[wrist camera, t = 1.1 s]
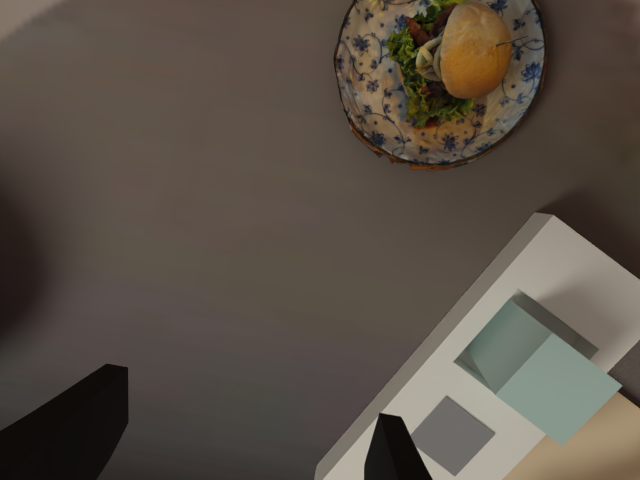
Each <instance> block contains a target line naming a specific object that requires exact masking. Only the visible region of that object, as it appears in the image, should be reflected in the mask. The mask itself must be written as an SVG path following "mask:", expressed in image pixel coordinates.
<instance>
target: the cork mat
mask: <svg viewBox="0 0 640 480" xmlns="http://www.w3.org/2000/svg"><path fill="white" fill-rule="evenodd" d="M502 480H640V408H639V407H637V406H636V405H635V404H633V403H632V402H631V401H629V400H628V399H627V398H625V397H624V396H623V395H621V394H620V393H619V392H618V391H617V392H616V393H615V394H614V395H613V396H612V397H611V398H610V399H609V400H608V401H607V402H606V403H605V404H604V405H603V406H602V407H601V408H600V409H599V410H598V411H597V412H596V413H595V414H594V415H593V416H592V417H591V418H590V419H589V420H588V421H587V422H586V423H585V424H584V425H583V426H582V427H581V428H580V429H579V430H578V431H577V432H576V433H575V434H574V435H573V436H572V437H571V438H570V439H569V440H568V441H567V442H566V443H565V444H564V445H563V446H561V445H560V444H558V443H557V442H556V441H554V440H553V439H552V438H551V437H549V436H548V435H547V434H546V435H545V436H544V437H543V438H542V439H541V440H540V442H539V443H538V444H537V445H536V446H535V447H534V448H533V449H532V450H531V451H530V452H529V453H528V454H527V455H526V456H525V457H524V458H523V459H522V460H521V461H520V462H519V463H518V464H517V465H516V466H515V467H514V468H513V469H512V470H511V471H510V472H509V473H508V474H507V475H506V476H505V477H504V478H503V479H502Z"/></svg>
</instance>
